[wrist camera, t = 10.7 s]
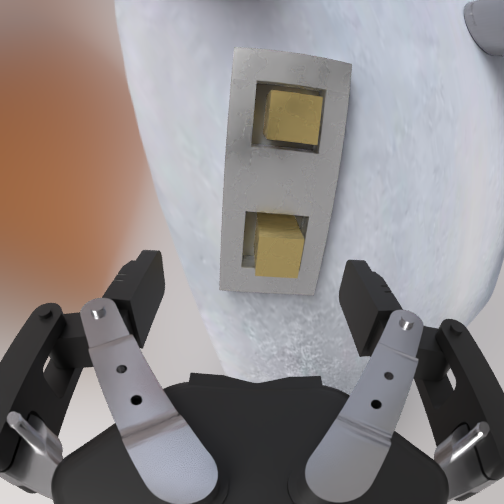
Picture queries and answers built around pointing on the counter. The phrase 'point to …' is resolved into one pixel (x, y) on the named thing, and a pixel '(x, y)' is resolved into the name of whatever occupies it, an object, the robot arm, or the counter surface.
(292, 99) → the seated brass block
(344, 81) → the white socket board
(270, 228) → the brass block
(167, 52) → the counter surface
